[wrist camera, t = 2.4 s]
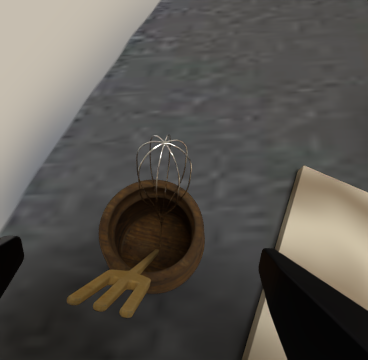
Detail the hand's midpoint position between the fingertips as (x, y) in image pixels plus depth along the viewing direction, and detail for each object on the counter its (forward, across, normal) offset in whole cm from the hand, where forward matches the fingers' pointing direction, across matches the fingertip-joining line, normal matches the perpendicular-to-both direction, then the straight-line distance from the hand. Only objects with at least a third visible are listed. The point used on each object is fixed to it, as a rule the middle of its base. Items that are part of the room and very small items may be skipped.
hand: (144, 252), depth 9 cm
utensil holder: (+7, 0, +6) cm, 9 cm away
